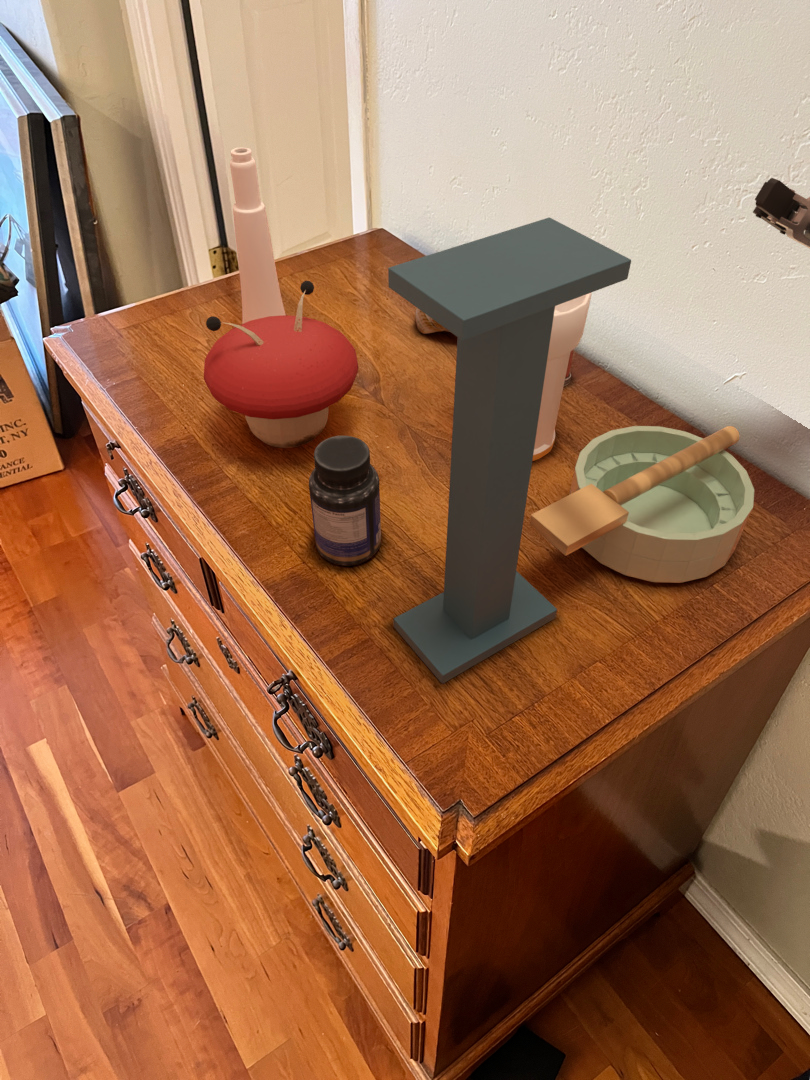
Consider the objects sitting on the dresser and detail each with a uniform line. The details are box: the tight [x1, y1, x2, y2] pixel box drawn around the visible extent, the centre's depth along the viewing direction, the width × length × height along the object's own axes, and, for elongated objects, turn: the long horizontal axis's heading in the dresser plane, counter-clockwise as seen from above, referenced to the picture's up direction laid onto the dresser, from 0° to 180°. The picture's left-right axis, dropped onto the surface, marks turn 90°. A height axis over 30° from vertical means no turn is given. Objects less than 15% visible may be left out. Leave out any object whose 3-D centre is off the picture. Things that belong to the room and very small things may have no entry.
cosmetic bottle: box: [229, 147, 286, 324], centre depth 93 cm, size 6×6×22 cm
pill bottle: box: [308, 435, 382, 567], centre depth 70 cm, size 6×6×11 cm
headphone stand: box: [387, 217, 632, 685], centre depth 56 cm, size 7×12×32 cm, turn 124°
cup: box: [532, 292, 593, 462], centre depth 79 cm, size 11×11×17 cm
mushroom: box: [203, 280, 359, 449], centre depth 81 cm, size 16×16×15 cm
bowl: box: [569, 425, 755, 584], centre depth 74 cm, size 16×16×6 cm
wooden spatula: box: [529, 425, 740, 557], centre depth 70 cm, size 23×4×2 cm, turn 125°
